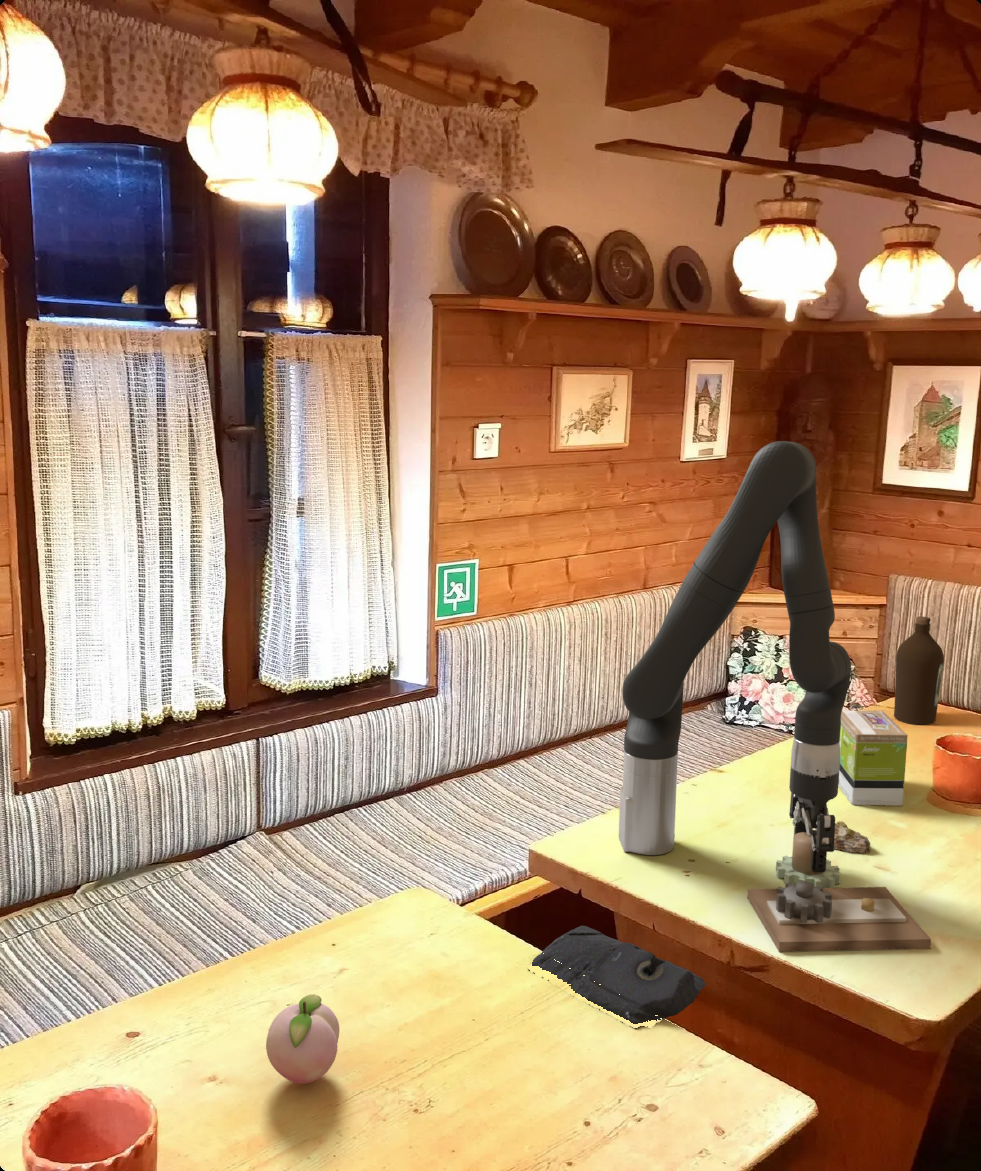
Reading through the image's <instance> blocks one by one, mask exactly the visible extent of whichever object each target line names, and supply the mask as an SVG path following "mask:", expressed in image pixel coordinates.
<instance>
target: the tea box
mask: <svg viewBox="0 0 981 1171" xmlns="http://www.w3.org/2000/svg"><path fill="white" fill-rule="evenodd" d="M907 750H908V734H907V733H906V732H905V731H904V730H903V729H902V728H901V727H900V726H899V725H898V724H897V723H896V722H895V721H894V720H893V719H892V718H891V717H890V716H889V715H888V714H887V713H886V712H885V711H884V710H842V713H841V730H840V769H839V783H838V788H840V789H841V791H842V792H843V794H844V795H845V796H846V798H847V799H848V801H849V802H850V804H851V806H868V805H881V806H882V805H885V806H886V807H893V806H895V807H898V806H899V807H900V806H903V801H904V791H905V790H904V789H905V788H904V787H905V777H906V776H905V775H906V763H907ZM885 806H884V807H885ZM882 807H883V806H882Z"/></svg>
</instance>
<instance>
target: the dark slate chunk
mask: <svg viewBox="0 0 981 1171" xmlns="http://www.w3.org/2000/svg"><path fill="white" fill-rule="evenodd" d="M541 952H542V953H541ZM541 952H540V953H539V954H538V955H536V956H535V957H534V958H533V960H532V961H533V962H532V961H531V963H532V966H539V967H540V968H542V970H546V971H549V972H551V974H554V975H557V978H558V979H562V980H563V982H567V984H571V985H569V986H571V989H573V991H575V993H578V994H580V995H581V996H582V997H585V998H586V999H587V1000H588V1001H591V1002H593V1003H594V1004H597V1005H598V1006H601V1007H603V1009H606V1010H607V1011H611V1012H613V1013H614V1014H616V1015H619V1016H620V1017H623V1018H624V1019H626V1020H629V1021H630V1022H631V1023H633V1024H638V1023H643V1022H646V1021H647V1022H648V1020H649V1021H651V1020H656V1021H657V1019H658V1020H661V1019H660V1018H662V1019H663V1020H664V1019H666V1018H670V1017H674V1016H677V1015H678V1014H680V1013H681V1012H683V1011H685V1009H687V1008H688V1006H690V1005H691V1004H693V1003H695V1000H696V998H698V995H699V994H701V990H703V989H705V988H704V987H706V986H707V984H706V982H705V980H704V979H703V978H702V977H701V976H698V975H697V974H695V973H694V972H693V971H691V970H690V969H687V968H684V967H682V966H680V965H678V964H674V963H673V962H671V961H669V960H668V961H667V960H665V959H661V958H660V957H656V955H655V954H654V952H650V951H647V950H645V949H643V948H642V947H640V946H638V945H635V944H634V943H631V942H628V941H627V942H622V941H620V940H618V939H615V938H612V937H609V936H607V935H605V934H604V933H602V932H600V931H598V930H596V929H594V928H591V927H589V926H587V925H580V926H578V927H576V928H574V929H571V930H569V931H568V932H565V933H564V934H562V935H561V936H559V937H557V938H555V939H554V940H553V941H552V943H550V944H549V945H548V946H546V947H545V948H544V950H542V951H541ZM543 953H544V954H543ZM554 959H555V960H556V961H555V960H554ZM557 961H559V962H560V963H559V962H557ZM561 963H562V964H561ZM569 968H571V969H569ZM583 975H585V976H583ZM594 981H595V982H594ZM599 984H601V985H599ZM619 994H620V995H619ZM655 1015H658V1016H655Z"/></svg>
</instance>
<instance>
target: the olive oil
mask: <svg viewBox="0 0 981 1171" xmlns="http://www.w3.org/2000/svg"><path fill="white" fill-rule="evenodd" d="M930 622H931V618H930V617H928V616H922V615H921V616H916V617H915V623H914V632H913V633H912V634H911V635H910V636H908V638H906V639H904V641H903V642H902V643H901V644H900V645H899V647H898V648H897V651H896V655H895V679H894V680H895V681H894V682H895V684H894V689H895V690H894V705H893V706H894V712H893V718H894V719H896V720H897V721H899V722H902V723H906V724H912V725H920V726H924V725H932V724H934V723H936V720H937V715H938V714H937V713H938V705H939V698H940V692H941V683H942V677H943V671H944V664H945V656H944V652H943V649H942V647H941V645H939V643H938V642H937V641H936V640H935V639H934V638H933V637H932V635H931V633H930V632H931V631H930V630H931V623H930Z"/></svg>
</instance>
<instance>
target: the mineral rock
mask: <svg viewBox="0 0 981 1171" xmlns="http://www.w3.org/2000/svg"><path fill="white" fill-rule="evenodd" d="M814 830H817V829H814ZM828 840H829V838H828ZM870 848H871V842H870V840H869V838H868V836H865V835H862V834H861V832H859V831H855V830H853V829H851V828H849V827H848V825H847V824H846V823H845V822H844V821H843V820H841V821H840V820H839V821H837V822H835V837H834V850H838V851H842V852H845V853H849V854H852V853H853V854H854V853H856V854H857V853H858V854H863V853H870V852H871V849H870Z"/></svg>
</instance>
